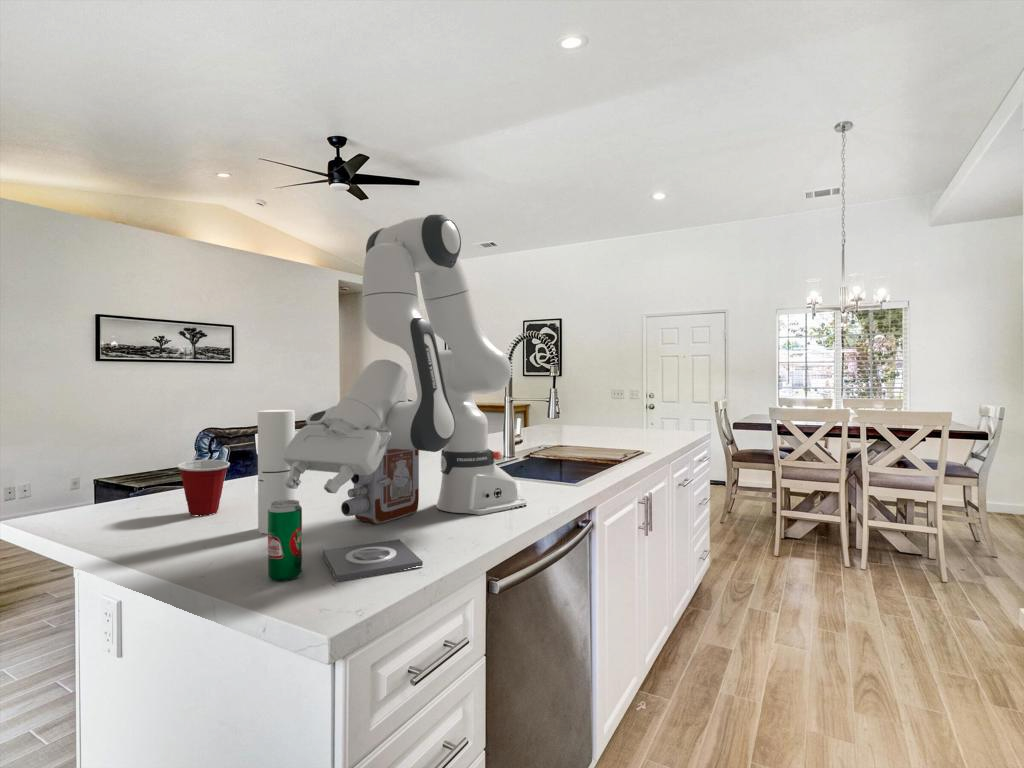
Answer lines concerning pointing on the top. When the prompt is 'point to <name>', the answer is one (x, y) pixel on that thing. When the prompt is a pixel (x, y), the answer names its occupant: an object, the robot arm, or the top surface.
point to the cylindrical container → (273, 460)
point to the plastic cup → (203, 484)
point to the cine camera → (386, 489)
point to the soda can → (284, 540)
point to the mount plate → (370, 559)
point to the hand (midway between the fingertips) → (308, 489)
